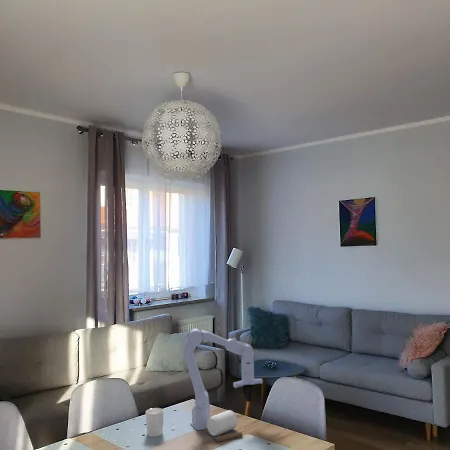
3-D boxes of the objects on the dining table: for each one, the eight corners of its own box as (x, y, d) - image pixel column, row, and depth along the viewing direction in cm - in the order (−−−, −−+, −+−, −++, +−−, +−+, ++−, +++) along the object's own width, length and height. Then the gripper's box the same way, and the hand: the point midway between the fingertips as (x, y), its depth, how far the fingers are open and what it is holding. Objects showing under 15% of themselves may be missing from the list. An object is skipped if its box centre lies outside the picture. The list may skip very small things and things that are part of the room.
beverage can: (238, 412, 204) (218, 419, 195) (238, 430, 203) (219, 439, 195) (225, 407, 209) (205, 415, 201) (225, 425, 209) (206, 433, 200)
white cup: (167, 432, 205) (166, 409, 206) (157, 438, 198) (157, 414, 198) (152, 429, 208) (152, 407, 209) (142, 436, 201) (141, 412, 202)
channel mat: (205, 431, 204) (205, 427, 204) (228, 426, 209) (228, 422, 210) (217, 442, 193) (217, 437, 193) (242, 436, 198) (242, 432, 198)
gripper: (237, 375, 207) (238, 406, 206) (265, 371, 213) (266, 400, 213) (230, 371, 213) (231, 401, 213) (258, 367, 220) (258, 396, 219)
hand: (248, 401), depth 213 cm, fingers closed
